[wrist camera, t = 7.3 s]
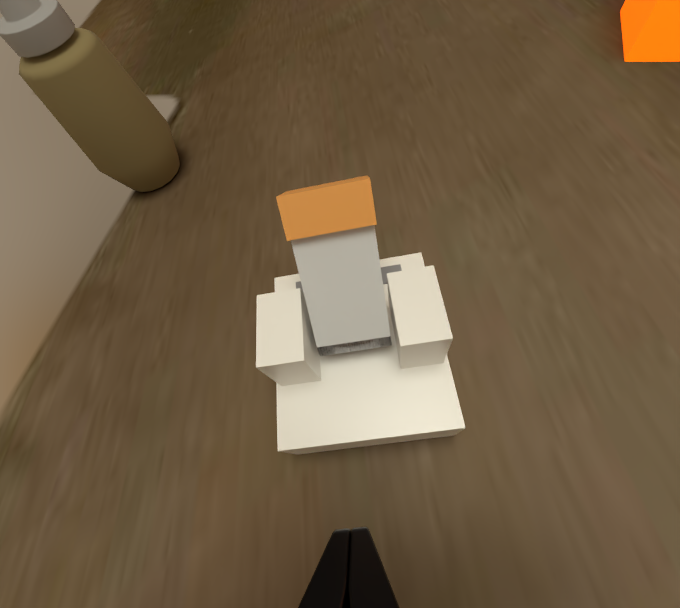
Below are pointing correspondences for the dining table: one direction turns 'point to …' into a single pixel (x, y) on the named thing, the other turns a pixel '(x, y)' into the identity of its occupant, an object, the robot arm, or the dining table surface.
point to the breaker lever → (338, 263)
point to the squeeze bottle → (90, 94)
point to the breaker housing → (361, 368)
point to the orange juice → (651, 30)
